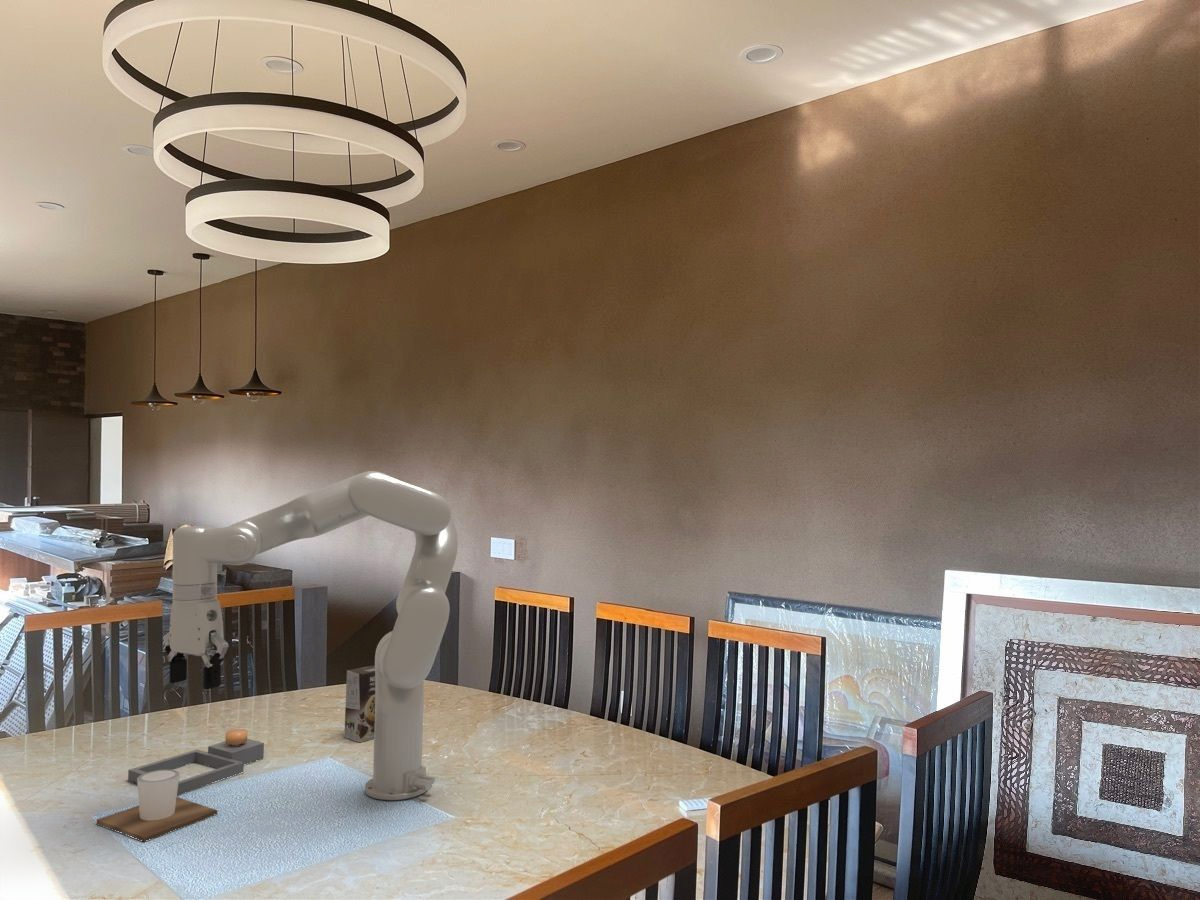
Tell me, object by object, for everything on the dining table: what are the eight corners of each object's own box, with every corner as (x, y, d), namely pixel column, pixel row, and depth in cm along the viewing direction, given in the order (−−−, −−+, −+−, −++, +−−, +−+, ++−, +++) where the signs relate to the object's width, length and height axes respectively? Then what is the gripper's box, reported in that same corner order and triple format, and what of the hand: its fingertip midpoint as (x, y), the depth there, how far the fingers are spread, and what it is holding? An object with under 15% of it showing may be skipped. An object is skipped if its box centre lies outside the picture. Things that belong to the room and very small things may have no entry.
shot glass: (166, 822, 151) (168, 782, 151) (128, 821, 151) (129, 781, 151) (185, 807, 158) (186, 769, 158) (148, 806, 158) (149, 768, 158)
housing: (274, 762, 185) (275, 745, 185) (175, 796, 165) (175, 778, 165) (228, 749, 193) (229, 734, 193) (128, 780, 172) (128, 763, 173)
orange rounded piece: (251, 751, 186) (251, 731, 186) (233, 757, 183) (234, 736, 183) (238, 747, 189) (238, 727, 189) (220, 753, 185) (221, 733, 185)
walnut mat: (217, 814, 157) (217, 810, 157) (144, 842, 144) (144, 837, 144) (169, 798, 164) (170, 794, 164) (96, 824, 151) (96, 819, 151)
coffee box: (360, 743, 199) (362, 674, 200) (343, 737, 203) (345, 669, 203) (391, 734, 206) (393, 667, 207) (374, 729, 210) (376, 663, 211)
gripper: (243, 592, 158) (243, 685, 158) (183, 587, 166) (183, 675, 166) (207, 598, 151) (207, 695, 151) (147, 592, 160) (147, 683, 159)
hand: (194, 684), depth 159 cm, fingers open, 9 cm apart
